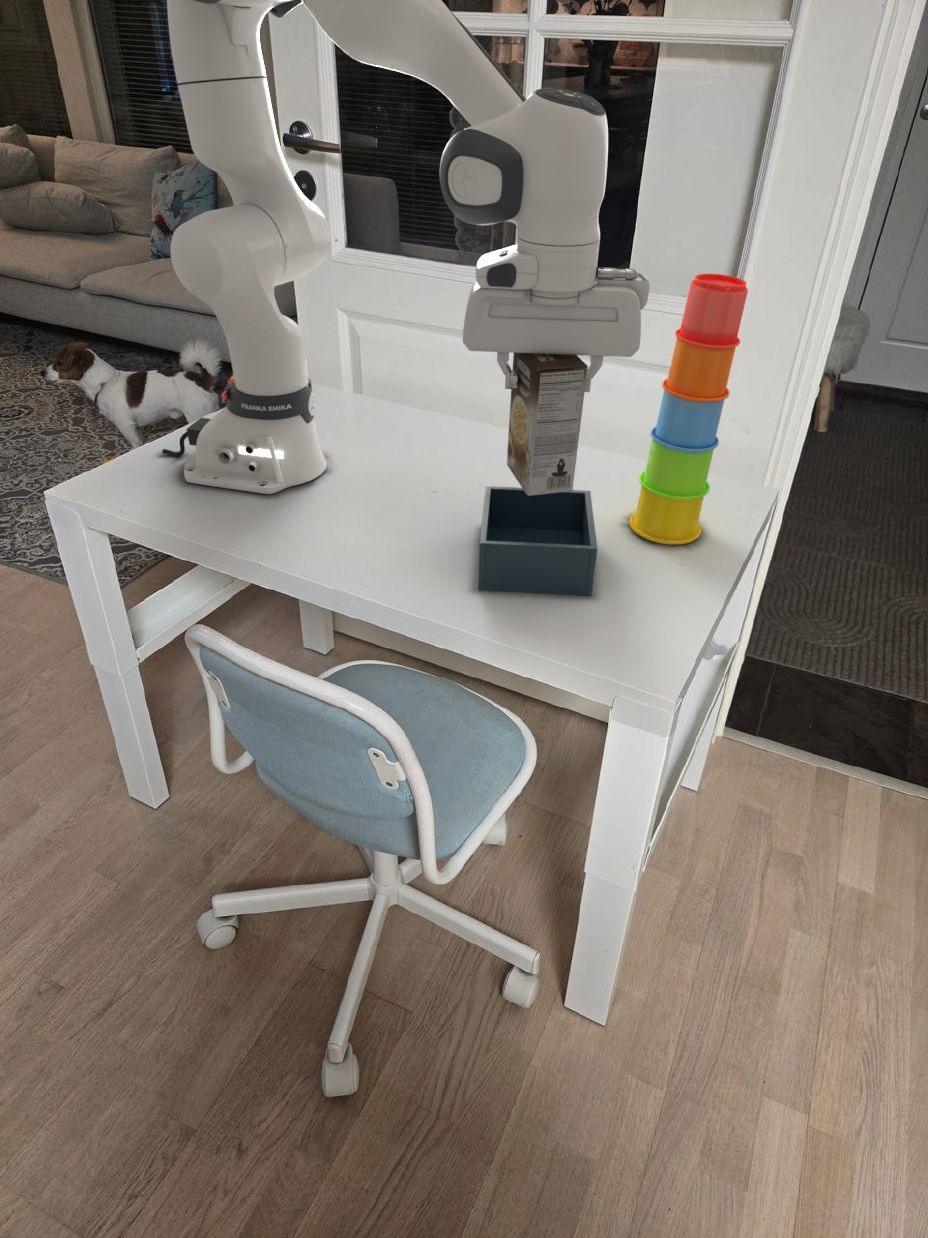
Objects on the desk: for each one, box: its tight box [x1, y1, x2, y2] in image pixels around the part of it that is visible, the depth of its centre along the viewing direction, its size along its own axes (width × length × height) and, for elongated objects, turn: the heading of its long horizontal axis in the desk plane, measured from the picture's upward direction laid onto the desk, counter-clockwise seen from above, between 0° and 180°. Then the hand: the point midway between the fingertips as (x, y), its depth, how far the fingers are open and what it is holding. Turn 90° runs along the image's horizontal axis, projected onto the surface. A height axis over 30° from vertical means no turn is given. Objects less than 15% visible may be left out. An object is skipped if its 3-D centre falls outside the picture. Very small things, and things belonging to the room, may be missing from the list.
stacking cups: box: [629, 273, 749, 546], centre depth 109 cm, size 10×10×35 cm
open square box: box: [477, 485, 598, 596], centre depth 110 cm, size 15×16×7 cm
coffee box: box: [506, 353, 589, 496], centre depth 100 cm, size 9×6×16 cm
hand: (546, 389), depth 98 cm, fingers closed on coffee box, 7 cm apart
